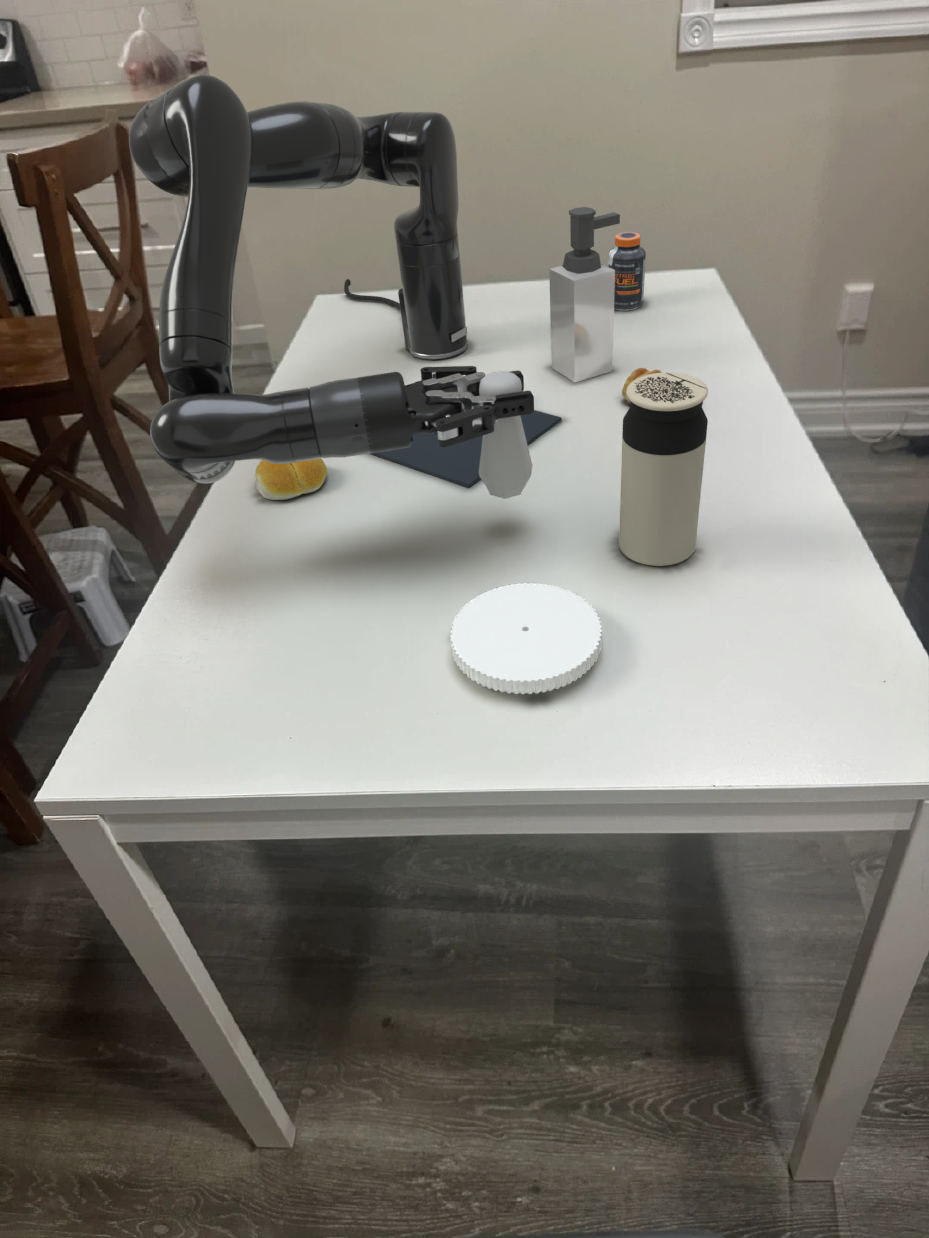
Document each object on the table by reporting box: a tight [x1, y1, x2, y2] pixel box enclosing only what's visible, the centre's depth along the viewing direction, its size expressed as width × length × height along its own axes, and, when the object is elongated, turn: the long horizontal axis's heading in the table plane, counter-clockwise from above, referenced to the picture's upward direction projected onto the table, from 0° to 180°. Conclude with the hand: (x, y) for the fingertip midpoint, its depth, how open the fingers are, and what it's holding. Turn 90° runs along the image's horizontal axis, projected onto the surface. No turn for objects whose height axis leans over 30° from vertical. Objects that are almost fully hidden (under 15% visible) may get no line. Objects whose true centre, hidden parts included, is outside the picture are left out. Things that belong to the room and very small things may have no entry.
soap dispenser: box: [548, 206, 621, 384], centre depth 121 cm, size 6×9×22 cm
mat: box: [370, 406, 562, 489], centre depth 116 cm, size 20×20×1 cm
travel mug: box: [618, 371, 709, 567], centre depth 86 cm, size 8×8×18 cm
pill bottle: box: [608, 231, 647, 312], centre depth 142 cm, size 6×6×11 cm
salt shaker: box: [479, 370, 533, 499], centre depth 90 cm, size 6×6×13 cm
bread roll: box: [254, 458, 328, 501], centre depth 108 cm, size 8×9×4 cm
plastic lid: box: [449, 582, 603, 695], centre depth 81 cm, size 14×14×2 cm
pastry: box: [621, 367, 663, 404], centre depth 116 cm, size 9×7×4 cm
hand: (527, 391), depth 88 cm, fingers closed on salt shaker, 4 cm apart
